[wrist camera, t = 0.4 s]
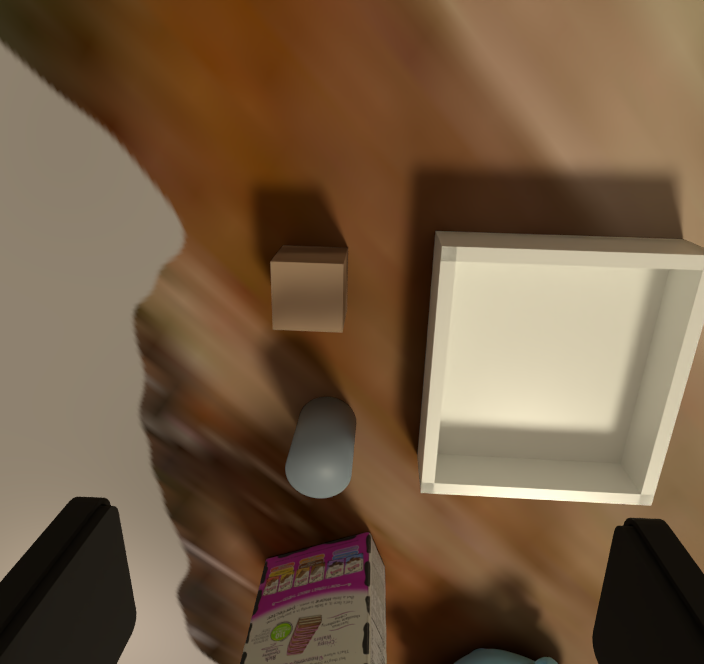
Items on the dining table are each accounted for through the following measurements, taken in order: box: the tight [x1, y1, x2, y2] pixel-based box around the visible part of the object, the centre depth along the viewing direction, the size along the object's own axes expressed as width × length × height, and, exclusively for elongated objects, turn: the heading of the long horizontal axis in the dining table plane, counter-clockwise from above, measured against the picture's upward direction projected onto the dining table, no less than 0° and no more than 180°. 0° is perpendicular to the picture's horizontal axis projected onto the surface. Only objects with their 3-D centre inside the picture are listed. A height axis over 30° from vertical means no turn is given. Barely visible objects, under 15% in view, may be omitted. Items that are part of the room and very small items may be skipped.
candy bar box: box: [240, 532, 387, 664], centre depth 45 cm, size 11×5×16 cm, turn 111°
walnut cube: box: [270, 245, 348, 332], centre depth 40 cm, size 5×5×5 cm
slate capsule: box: [285, 397, 356, 498], centre depth 44 cm, size 5×5×7 cm
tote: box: [417, 231, 704, 505], centre depth 41 cm, size 20×18×5 cm
